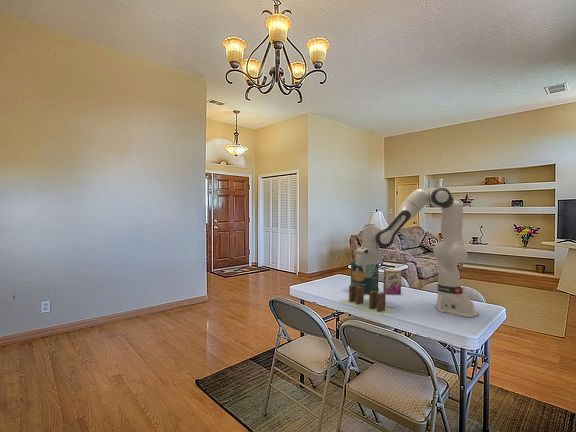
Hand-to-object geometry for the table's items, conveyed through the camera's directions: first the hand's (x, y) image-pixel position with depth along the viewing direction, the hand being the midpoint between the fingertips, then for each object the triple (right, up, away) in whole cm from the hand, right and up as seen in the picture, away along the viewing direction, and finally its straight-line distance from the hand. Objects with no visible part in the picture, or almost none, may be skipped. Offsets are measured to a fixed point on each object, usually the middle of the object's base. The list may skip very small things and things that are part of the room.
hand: (368, 271), depth 194 cm
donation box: (+3, -19, +25) cm, 32 cm away
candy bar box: (+22, -19, +21) cm, 36 cm away
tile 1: (+2, -19, -18) cm, 26 cm away
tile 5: (-10, -19, 0) cm, 21 cm away
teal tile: (0, -4, 0) cm, 4 cm away
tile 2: (-1, -19, -13) cm, 23 cm away
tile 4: (-7, -19, -4) cm, 20 cm away
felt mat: (-4, -19, -9) cm, 22 cm away
